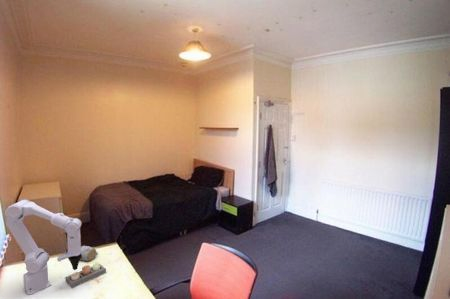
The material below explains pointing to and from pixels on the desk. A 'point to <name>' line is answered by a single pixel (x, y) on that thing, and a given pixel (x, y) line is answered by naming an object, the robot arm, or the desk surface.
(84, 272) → the button terracotta
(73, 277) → the button cream
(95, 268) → the button sage
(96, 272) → the panel
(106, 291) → the desk surface
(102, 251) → the desk surface
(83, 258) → the ceramic mug
